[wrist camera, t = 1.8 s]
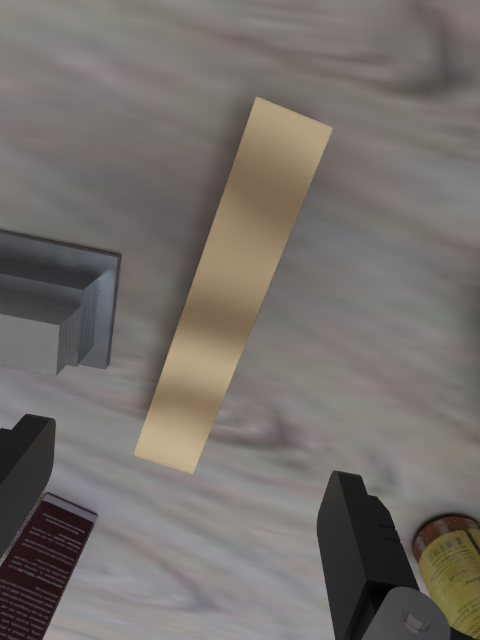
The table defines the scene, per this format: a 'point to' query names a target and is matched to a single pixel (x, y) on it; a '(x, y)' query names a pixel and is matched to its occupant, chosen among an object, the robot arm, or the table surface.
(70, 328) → the fulcrum
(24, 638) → the supplement box
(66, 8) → the table surface
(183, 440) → the oak bar
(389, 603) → the robot arm
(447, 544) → the sauce bottle
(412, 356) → the table surface
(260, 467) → the table surface
